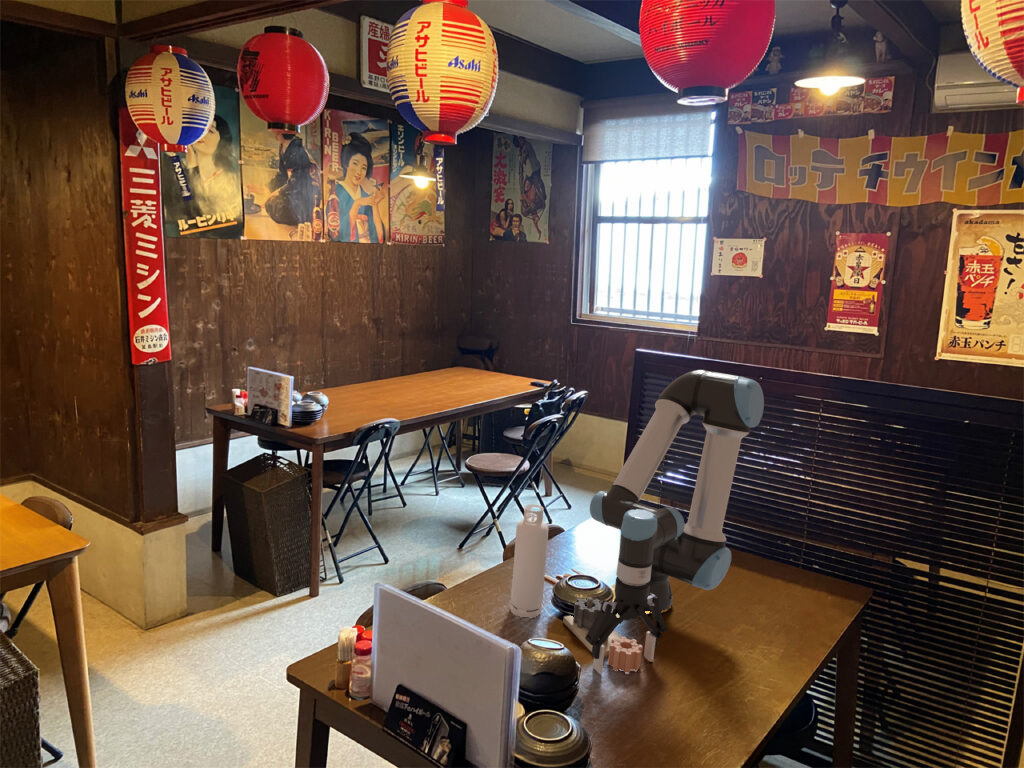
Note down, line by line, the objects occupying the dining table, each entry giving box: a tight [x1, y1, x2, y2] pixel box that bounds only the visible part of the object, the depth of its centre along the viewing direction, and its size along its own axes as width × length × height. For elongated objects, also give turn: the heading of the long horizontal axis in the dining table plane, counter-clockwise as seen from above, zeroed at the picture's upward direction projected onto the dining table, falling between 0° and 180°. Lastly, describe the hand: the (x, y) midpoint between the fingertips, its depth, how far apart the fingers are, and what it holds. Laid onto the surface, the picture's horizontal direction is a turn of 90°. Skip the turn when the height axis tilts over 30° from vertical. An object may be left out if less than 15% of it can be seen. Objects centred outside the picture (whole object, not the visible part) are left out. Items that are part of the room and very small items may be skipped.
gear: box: [607, 636, 643, 673], centre depth 168 cm, size 7×7×5 cm
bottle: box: [509, 503, 550, 618], centre depth 187 cm, size 8×8×28 cm
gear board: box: [562, 596, 622, 658], centre depth 179 cm, size 9×17×8 cm, turn 24°
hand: (623, 665), depth 168 cm, fingers open, 13 cm apart
